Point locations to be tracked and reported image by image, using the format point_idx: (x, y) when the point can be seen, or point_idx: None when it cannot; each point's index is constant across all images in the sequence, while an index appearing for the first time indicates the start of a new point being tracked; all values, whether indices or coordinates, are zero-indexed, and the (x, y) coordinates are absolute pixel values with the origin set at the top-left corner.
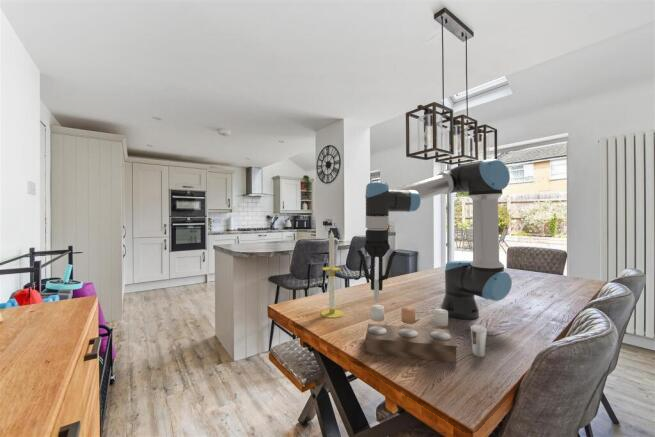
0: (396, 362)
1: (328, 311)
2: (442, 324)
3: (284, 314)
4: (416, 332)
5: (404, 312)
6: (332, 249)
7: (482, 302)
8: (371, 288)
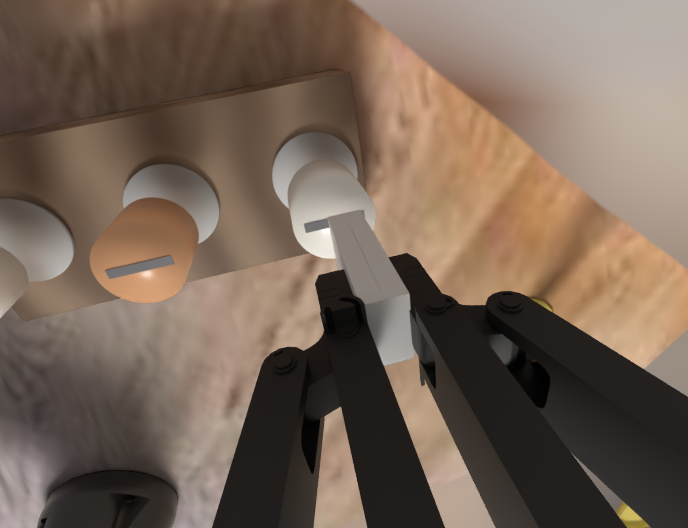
0: (191, 40)
1: None
2: None
3: (674, 260)
4: None
5: (152, 223)
6: None
7: None
8: (410, 259)
